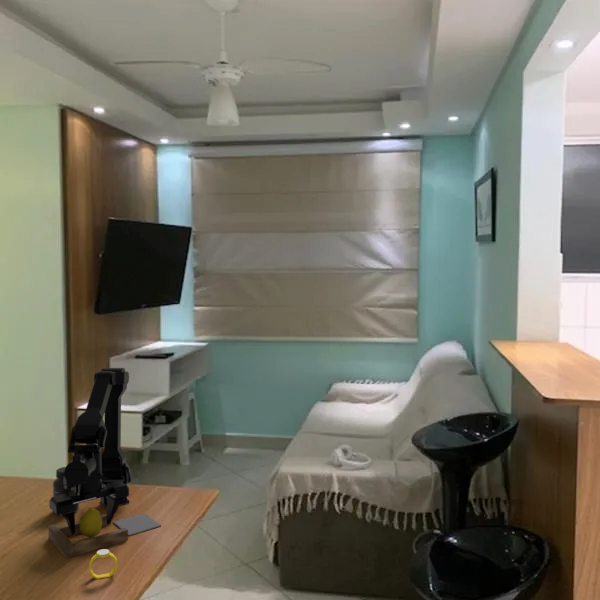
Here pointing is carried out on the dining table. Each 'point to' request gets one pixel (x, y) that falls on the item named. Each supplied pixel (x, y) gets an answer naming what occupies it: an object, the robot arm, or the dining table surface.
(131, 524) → the mat
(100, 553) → the watch
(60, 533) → the shelf lane
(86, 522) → the lemon
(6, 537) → the dining table surface
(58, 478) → the supplement bottle
